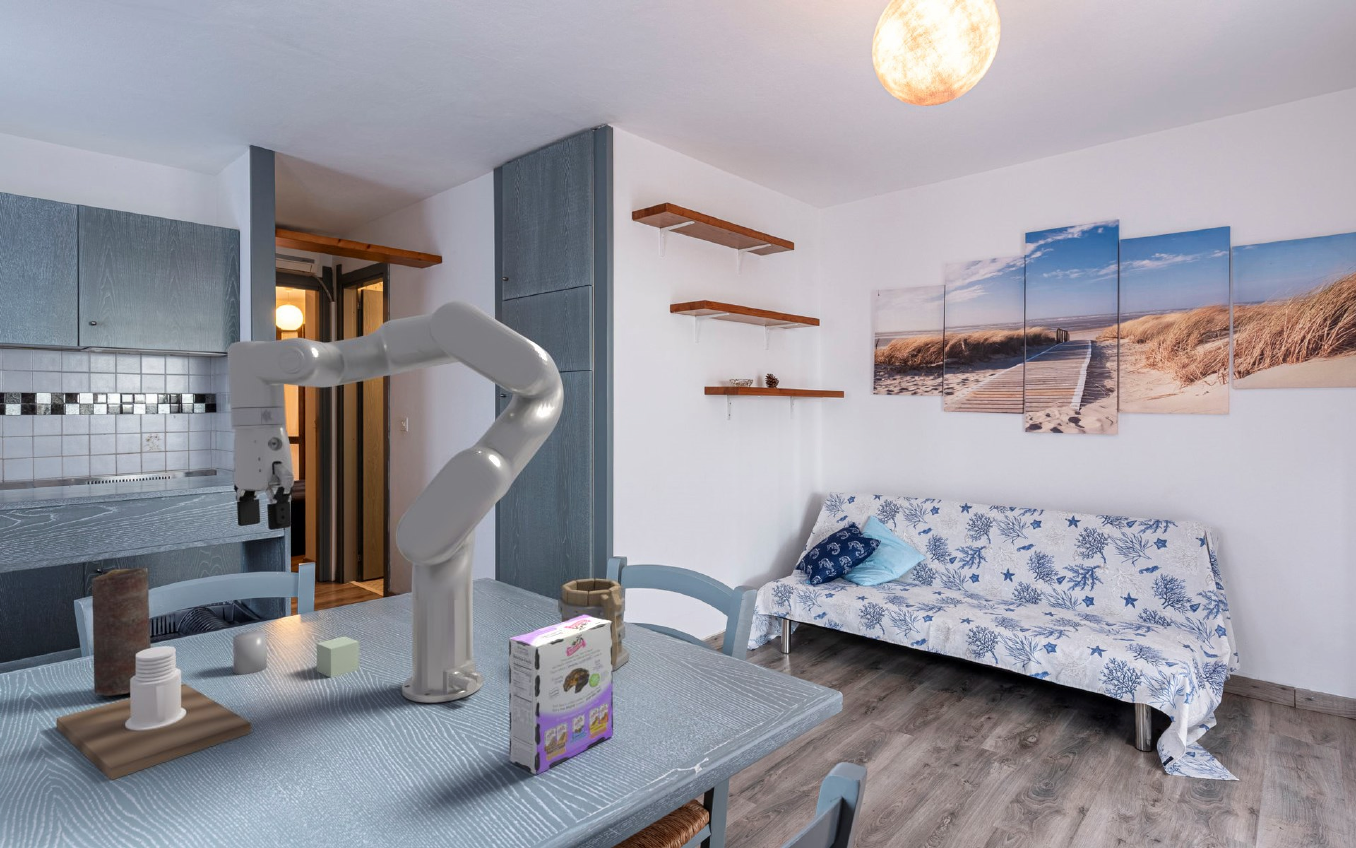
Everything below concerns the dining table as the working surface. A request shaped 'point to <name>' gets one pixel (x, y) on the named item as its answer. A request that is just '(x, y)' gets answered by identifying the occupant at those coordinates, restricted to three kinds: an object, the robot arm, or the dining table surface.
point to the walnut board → (149, 733)
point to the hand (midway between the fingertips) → (264, 526)
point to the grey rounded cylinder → (249, 652)
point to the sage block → (337, 656)
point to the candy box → (560, 691)
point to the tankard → (597, 609)
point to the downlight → (155, 690)
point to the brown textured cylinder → (119, 627)
